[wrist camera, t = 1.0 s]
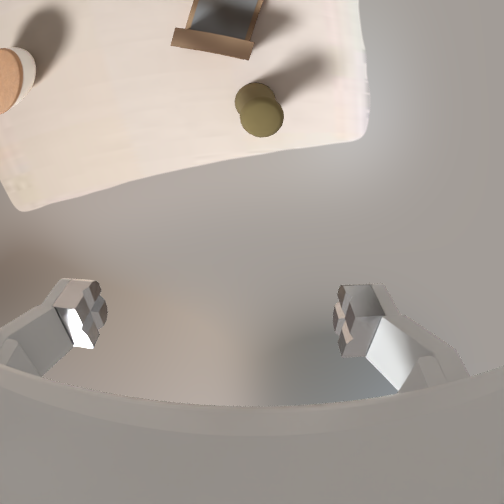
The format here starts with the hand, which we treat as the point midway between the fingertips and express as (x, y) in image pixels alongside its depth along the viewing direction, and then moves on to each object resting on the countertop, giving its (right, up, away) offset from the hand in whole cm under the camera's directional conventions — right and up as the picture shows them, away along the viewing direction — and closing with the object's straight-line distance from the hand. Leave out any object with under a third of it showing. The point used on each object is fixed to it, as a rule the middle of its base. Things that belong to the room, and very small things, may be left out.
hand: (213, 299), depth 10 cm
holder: (-2, +35, +21) cm, 40 cm away
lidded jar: (-36, +31, +21) cm, 52 cm away
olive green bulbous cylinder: (+2, +24, +31) cm, 39 cm away
